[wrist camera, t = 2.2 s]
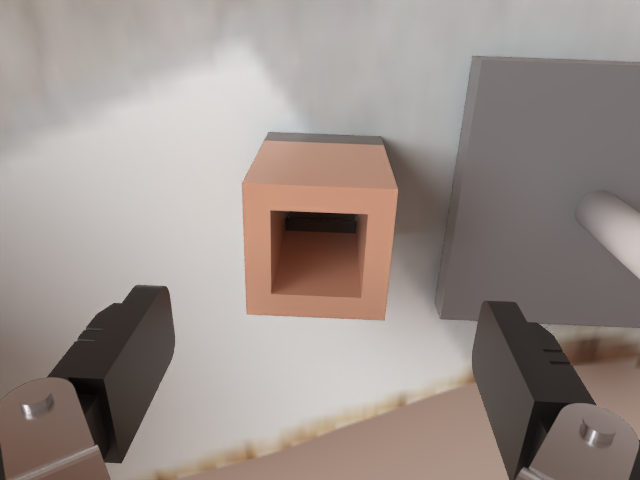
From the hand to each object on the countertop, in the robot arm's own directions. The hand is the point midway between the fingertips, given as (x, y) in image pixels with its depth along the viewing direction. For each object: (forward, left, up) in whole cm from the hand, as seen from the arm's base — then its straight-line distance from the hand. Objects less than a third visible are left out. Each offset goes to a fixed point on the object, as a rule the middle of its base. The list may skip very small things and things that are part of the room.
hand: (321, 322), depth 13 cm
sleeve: (0, 0, -11) cm, 11 cm away
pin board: (+12, 0, -11) cm, 16 cm away
